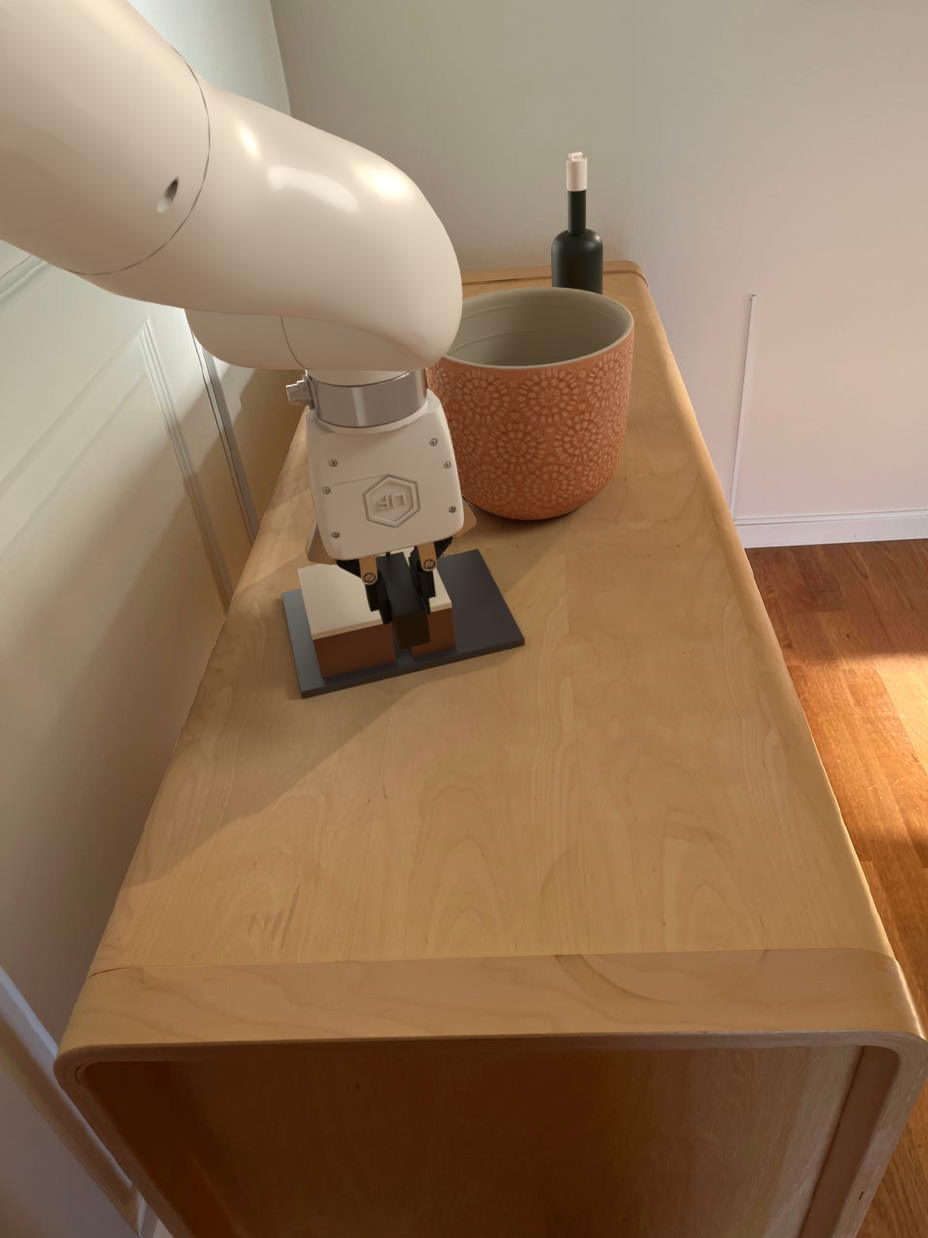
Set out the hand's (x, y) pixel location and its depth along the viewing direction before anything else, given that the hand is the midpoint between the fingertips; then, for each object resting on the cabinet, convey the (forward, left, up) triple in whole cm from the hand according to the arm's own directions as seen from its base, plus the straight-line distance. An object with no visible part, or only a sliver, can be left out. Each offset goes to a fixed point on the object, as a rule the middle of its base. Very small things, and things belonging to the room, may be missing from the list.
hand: (403, 607), depth 71 cm
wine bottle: (+43, -31, -10) cm, 54 cm away
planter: (+28, -20, -10) cm, 36 cm away
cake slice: (+9, -3, -9) cm, 13 cm away
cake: (+11, -1, -10) cm, 15 cm away
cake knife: (+5, 0, -1) cm, 5 cm away
